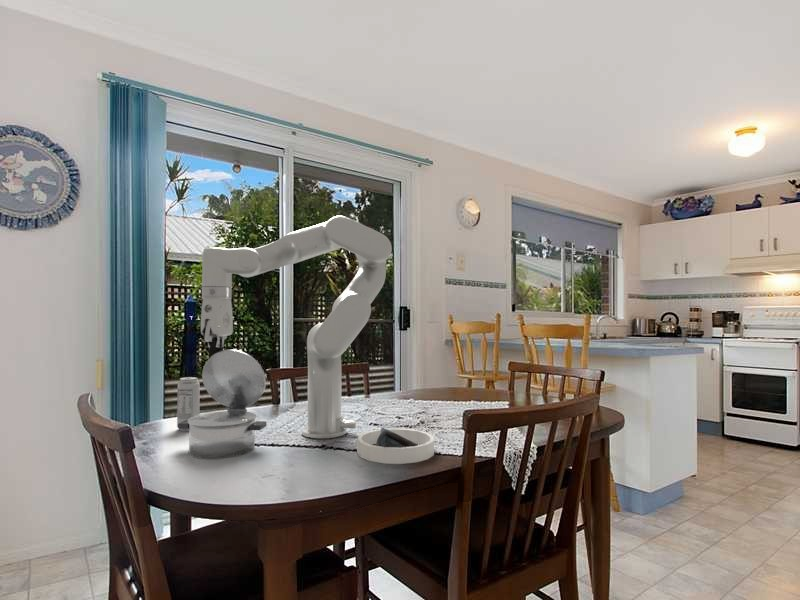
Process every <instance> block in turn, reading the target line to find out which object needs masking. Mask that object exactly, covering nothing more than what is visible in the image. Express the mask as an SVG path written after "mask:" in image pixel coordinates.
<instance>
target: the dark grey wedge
mask: <svg viewBox="0 0 800 600" xmlns="http://www.w3.org/2000/svg"><path fill="white" fill-rule="evenodd" d="M380 429H381V434H380V436H379V437H378V439H377V443H376V445H375V446H381V447H398V448H401V447H412V446H417V445H418V444H415V443H413V442H412V441H410V440H407V439H405V438H403V437H401V436H400V435H398V434H396V433H394V432H391V431H389V430H387V429H388V428H383V427H382V428H380Z"/></svg>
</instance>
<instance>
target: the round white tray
mask: <svg viewBox="0 0 800 600" xmlns="http://www.w3.org/2000/svg"><path fill="white" fill-rule="evenodd" d="M386 429H387V430H389V431H391V432H394V433H396V434H398V435H400V436H401V437H403V438H405V439H407V440H410V441H412V442H413V443H415V444H420V445H417V446H412V447H401V448H398V447H381V446H376V445H373V444H376V443H377V439H378V437H379V436H380V434H381V428H380V429H379V428H378V429H374V430H369V431H365V432H364V433H360V434H359V435H358V437H357V439H356V442H357V443H356V453H357V455H358V456H359V457H360V458H361V459H364V460H367V461H369V462H372V463H379V464H386V465H387V464H388V465H389V464H391V465H403V464H413V463H420V462H423V461H427V460H429V459H430V458H432V457H434V456H435V436H434V435H432V434H431V433H429V432H426V431H422V430H419V429H412V428H396V427H395V428H393V427H392V428H386Z"/></svg>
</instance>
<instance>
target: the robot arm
mask: <svg viewBox="0 0 800 600" xmlns="http://www.w3.org/2000/svg"><path fill="white" fill-rule="evenodd" d="M392 248H393V247H392V242H391V241H390V239H389V238H388V237H387V236H386V235H385V234H383V233H381V232H379V231H377V230H375V229H373V228H372V227H369V226H366V225H365V224H362V223H360V222H358V221H356V220H353V218H349V217H347V216H344V215H336V216H333V217H331V218H329V219H328V220H327V221H325V222H324V221H323V222H321V223H318V224H316V225H312V226H309V227H305V228H301V229H298V230H295V231H292V232H289V233H287V234H285V235H284V236H282V237H280V238H279V239H277V240H275V241H273V242H271V243H268V244H265V245H262V246H259V247H255V248H252V247H251V248H250V247H238V248H223V247H207V248H205V249H204V250H203V251H202V259H201V261H202V262H201V263H202V268H201V269H202V271H201V272H202V273H201V276H202V277H201V300H202V304H201V310H200V311H201V312H200V313H201V314H200V334H201V335H202V337H203V336H204V337H203V338H204V341H205V342H207V347H208V359H209V358H210V357H211V356H212V355H214V354H215V353H217V352H219V351H222V350H224V347H225V346H224V344H225V340H227V337H228V336H231V335H232V334H233V333H234V320H233V319H234V318H233V317H234V316H233V305H232V290H233V289H232V287H233V286H232V285H233V283H232V281H233V274H235V275H239V276H240V277H243V278H251V277H254V276H258V275H261V274H264V273H267V272H270V271H274V270H276V269H280V268H283V267H285V266H290V265H293V264H297V263H300V262H303V261H305V260H309V259H312V258H315V257H317V256H321V255H325V254H327V253H328V254H329V253H331V252H333V251H337V250H340V249H345V250H347V251H348V252H350V253H352V254H354V255H355V256H356V257H355V258H356V260H357V261H358V262H357V263H358V269H357V273H356V274H355V276H354V277H353V278H352V280H351V281H350V282H349V284H348V285H347V287H345V289H344V290H343V291H342V292H341V294H340V295H339V296H338V297H337V298H336V299H335V300H334V302H333V305H332V306H331V312H330V313H329V315H328V316H327V317H326V318H325V319H324V320H323V322H319V323H317V324H315V325H314V326H313V327H311V329H310V330H309V331H308V335H307V337H306V351H307V426H306V427H304V428H302V429H301V434H302V436H304V437H305V438H309V437H310V438H311V439H332V438H338V437H339V438H340V437H342V436H344V435H346V433H347V430H348V429H353V430H354V429H355V430H356V428H357V422H356V421H354V420H351V419H350V420H346V419H344V417H345V416H344V415H342V374H343V373H342V355H343V354H344V352H346V351H347V349H348V348H349V347H350V346H351V344H352V343H353V341H355V339H356V338H357V337H358V335H359V334H360V332H361V331H362V329H363V328H365V326H366V324H367V322H369V319H370V316H371V313H372V306H371V304H372V303H373V302H374V300H375V299H376V297H377V296H378V294H379V293H380V292H381V289H382V288H383V286H384V284H385V281H386V276H387V275H386V274H387V269H386V267H387V266H386V263H385V262H386V261H387V260H388V259H389V258H390V257H391V255H392V251H393V250H392Z"/></svg>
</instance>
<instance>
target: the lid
mask: <svg viewBox="0 0 800 600" xmlns="http://www.w3.org/2000/svg"><path fill="white" fill-rule="evenodd" d="M201 377H202V378H201V379H202V383H203V386H204V389H205V390H206V392H207V394H208V395H209V396H210V397H211V398H212V400H214V401H215V402H217V403H219V404H220V405H222V406H225V407H227V410H226V411H244V412H248V409H247V408H249V407H251V406H253V405H254V404H256V403H257V402H258V401H259V400H260V399H261V398H262V395H263V394H264V392H265V390H266V384H267V381H266V379H267V378H266V375H265V371H264V369H263V367H262V366H261V364H260V363H259V362H258V361H257V359H256V358H254V357H253V356H252V355H250V354H249V353H247V352H244V351H242V350H238V349H233V348H232V349H223V350H222V351H219V352H217V353H215V354H214V355H212V356H211V357H210V358H209V357H208V359H207V360H206V362H205V364H204V366H203V368H202V373H201Z"/></svg>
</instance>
